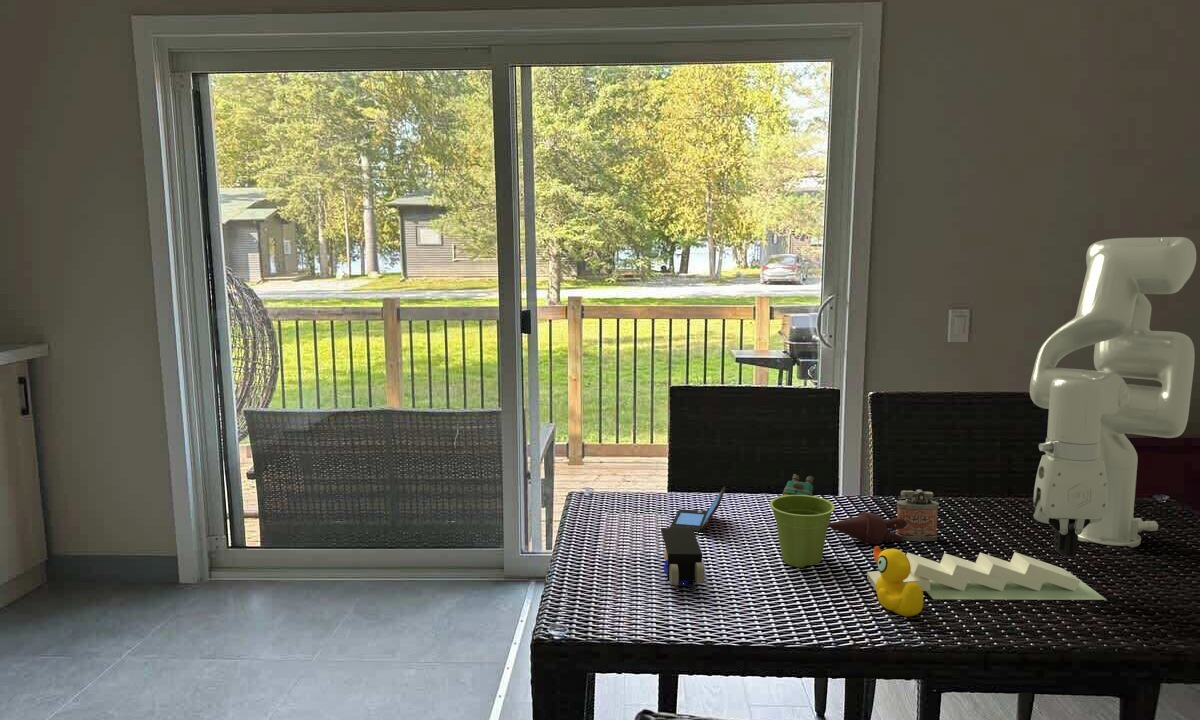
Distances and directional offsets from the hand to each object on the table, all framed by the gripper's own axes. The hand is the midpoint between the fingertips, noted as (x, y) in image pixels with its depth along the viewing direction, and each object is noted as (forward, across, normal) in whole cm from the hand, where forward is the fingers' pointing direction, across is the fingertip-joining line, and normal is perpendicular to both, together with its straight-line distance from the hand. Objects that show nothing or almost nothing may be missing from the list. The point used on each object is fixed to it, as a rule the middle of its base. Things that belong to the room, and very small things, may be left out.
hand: (1065, 553), depth 128 cm
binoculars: (+7, -38, +34) cm, 51 cm away
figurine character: (+7, -65, +4) cm, 66 cm away
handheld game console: (+7, -60, +32) cm, 68 cm away
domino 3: (+5, -11, 0) cm, 12 cm away
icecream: (+7, -27, +20) cm, 35 cm away
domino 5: (+5, +1, 0) cm, 5 cm away
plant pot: (+7, -42, +12) cm, 44 cm away
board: (+6, -10, 0) cm, 12 cm away
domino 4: (+5, -5, 0) cm, 7 cm away
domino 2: (+5, -18, 0) cm, 18 cm away
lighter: (+7, -16, +24) cm, 30 cm away
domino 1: (+4, -24, 0) cm, 24 cm away
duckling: (+7, -31, -8) cm, 33 cm away
